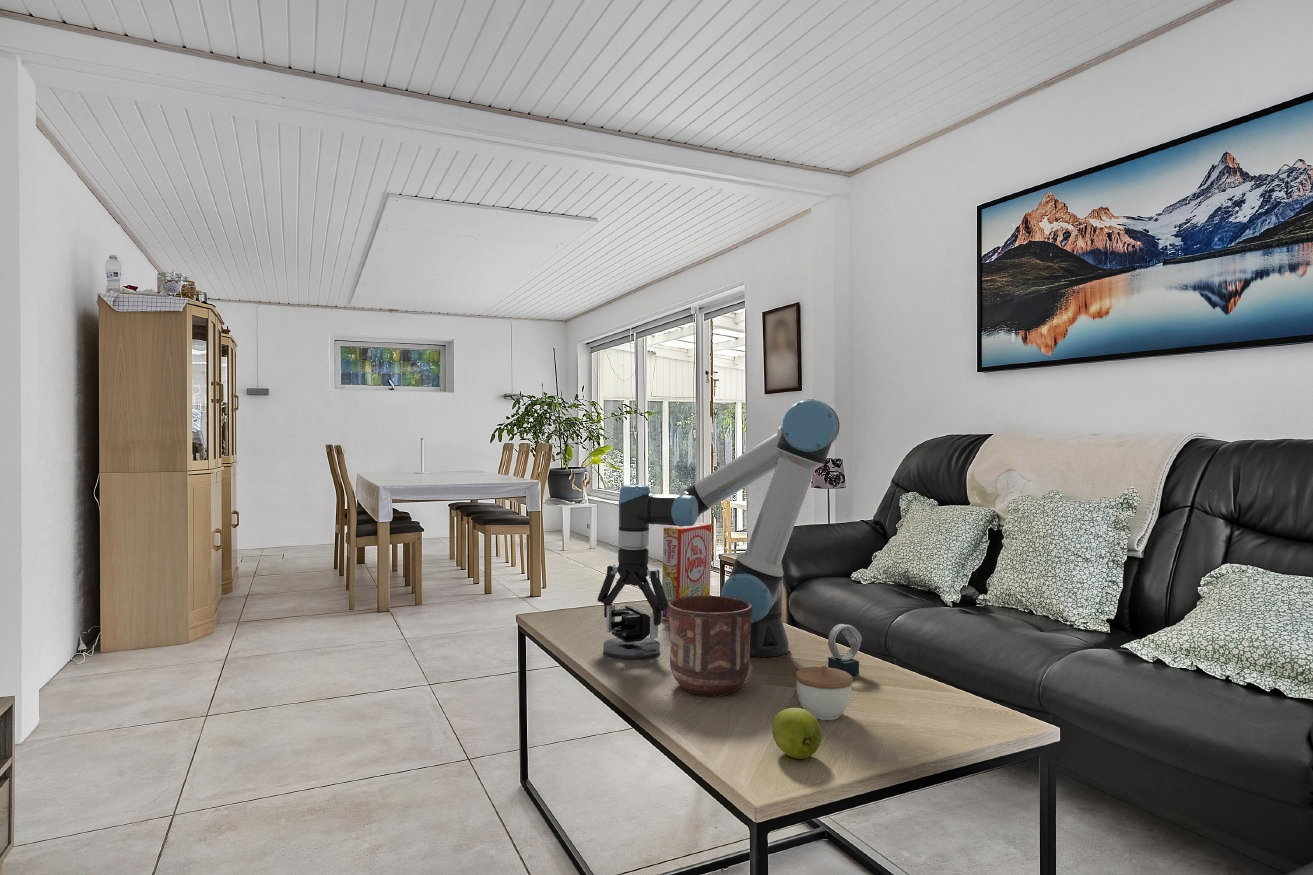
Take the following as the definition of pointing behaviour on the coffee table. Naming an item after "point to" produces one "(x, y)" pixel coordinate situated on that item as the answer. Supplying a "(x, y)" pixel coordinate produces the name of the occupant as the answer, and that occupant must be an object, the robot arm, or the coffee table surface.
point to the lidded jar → (824, 691)
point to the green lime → (796, 732)
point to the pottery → (710, 643)
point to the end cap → (630, 624)
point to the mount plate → (631, 649)
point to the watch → (846, 661)
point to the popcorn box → (686, 562)
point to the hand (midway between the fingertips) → (631, 634)
